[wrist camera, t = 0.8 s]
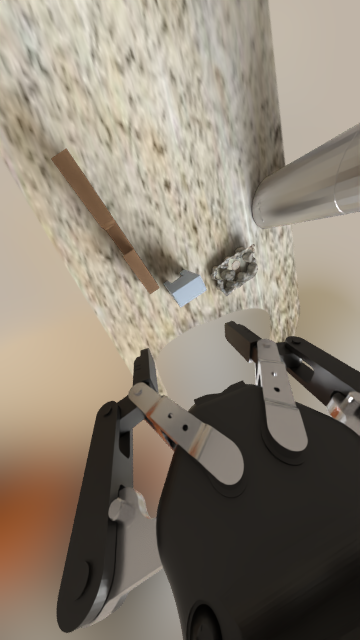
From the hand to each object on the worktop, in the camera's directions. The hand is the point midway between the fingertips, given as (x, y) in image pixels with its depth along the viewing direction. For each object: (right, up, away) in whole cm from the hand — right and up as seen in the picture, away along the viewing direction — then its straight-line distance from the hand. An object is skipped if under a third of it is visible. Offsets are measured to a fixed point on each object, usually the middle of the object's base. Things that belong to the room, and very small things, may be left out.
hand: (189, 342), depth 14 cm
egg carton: (+11, +15, +20) cm, 28 cm away
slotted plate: (-12, +17, +12) cm, 23 cm away
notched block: (-2, +11, +18) cm, 21 cm away
